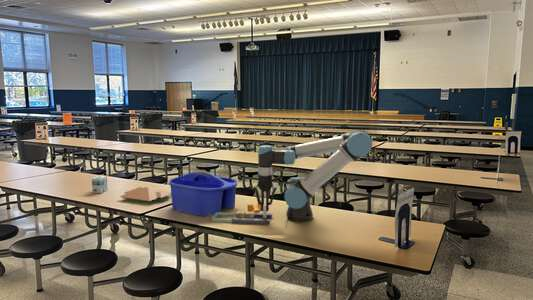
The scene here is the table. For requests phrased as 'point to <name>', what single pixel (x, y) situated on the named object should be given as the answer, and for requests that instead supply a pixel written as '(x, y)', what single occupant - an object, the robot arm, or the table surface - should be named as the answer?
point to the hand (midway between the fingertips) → (264, 216)
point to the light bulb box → (99, 184)
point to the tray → (221, 218)
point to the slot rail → (254, 219)
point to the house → (145, 194)
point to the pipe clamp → (251, 208)
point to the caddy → (202, 193)
